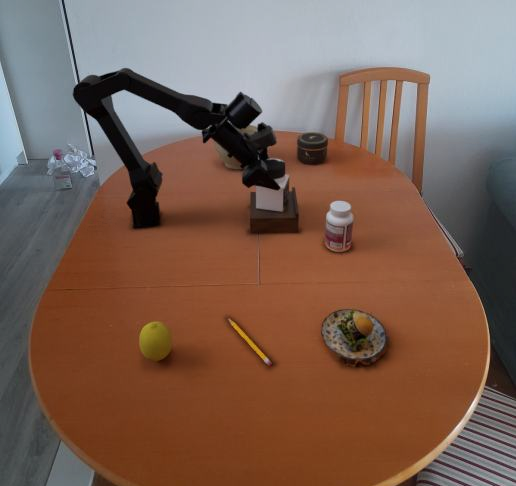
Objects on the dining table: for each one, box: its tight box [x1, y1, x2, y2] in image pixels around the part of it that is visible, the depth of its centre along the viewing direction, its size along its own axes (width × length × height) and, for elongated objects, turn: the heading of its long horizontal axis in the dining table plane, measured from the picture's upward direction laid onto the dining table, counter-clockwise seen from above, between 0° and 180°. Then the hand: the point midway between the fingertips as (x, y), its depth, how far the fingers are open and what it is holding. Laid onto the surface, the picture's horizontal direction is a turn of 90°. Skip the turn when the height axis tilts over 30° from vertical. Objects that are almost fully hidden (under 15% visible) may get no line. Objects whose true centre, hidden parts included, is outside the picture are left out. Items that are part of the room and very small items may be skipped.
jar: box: [296, 131, 329, 165], centre depth 146 cm, size 10×10×8 cm
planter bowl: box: [213, 124, 257, 170], centre depth 143 cm, size 16×16×11 cm
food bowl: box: [320, 308, 388, 367], centre depth 80 cm, size 12×12×8 cm
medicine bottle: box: [255, 157, 290, 212], centre depth 112 cm, size 7×7×12 cm
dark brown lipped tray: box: [249, 186, 300, 234], centre depth 115 cm, size 12×13×6 cm
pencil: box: [228, 318, 273, 367], centre depth 81 cm, size 1×13×1 cm, turn 37°
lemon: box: [138, 321, 173, 362], centre depth 77 cm, size 6×6×8 cm
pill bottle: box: [324, 200, 354, 253], centre depth 104 cm, size 6×6×11 cm
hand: (278, 181), depth 111 cm, fingers closed on medicine bottle, 8 cm apart
